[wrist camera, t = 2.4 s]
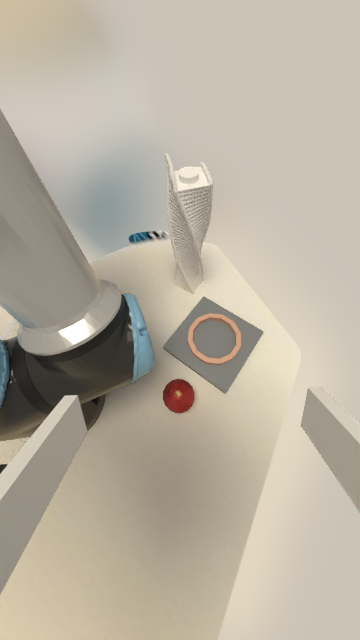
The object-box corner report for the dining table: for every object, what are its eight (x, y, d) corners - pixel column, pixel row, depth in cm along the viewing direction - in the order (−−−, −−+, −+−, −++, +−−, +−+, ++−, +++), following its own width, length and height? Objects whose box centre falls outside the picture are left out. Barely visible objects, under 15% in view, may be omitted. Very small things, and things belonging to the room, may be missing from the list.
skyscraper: (168, 286, 52) (148, 164, 27) (183, 266, 54) (177, 138, 29) (194, 299, 50) (200, 180, 24) (208, 278, 52) (226, 151, 27)
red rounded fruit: (160, 404, 40) (153, 402, 32) (172, 377, 42) (169, 370, 35) (186, 418, 38) (186, 419, 31) (198, 389, 40) (200, 384, 33)
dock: (225, 393, 40) (227, 392, 37) (163, 348, 45) (162, 344, 42) (261, 333, 45) (266, 329, 43) (203, 298, 50) (204, 292, 47)
